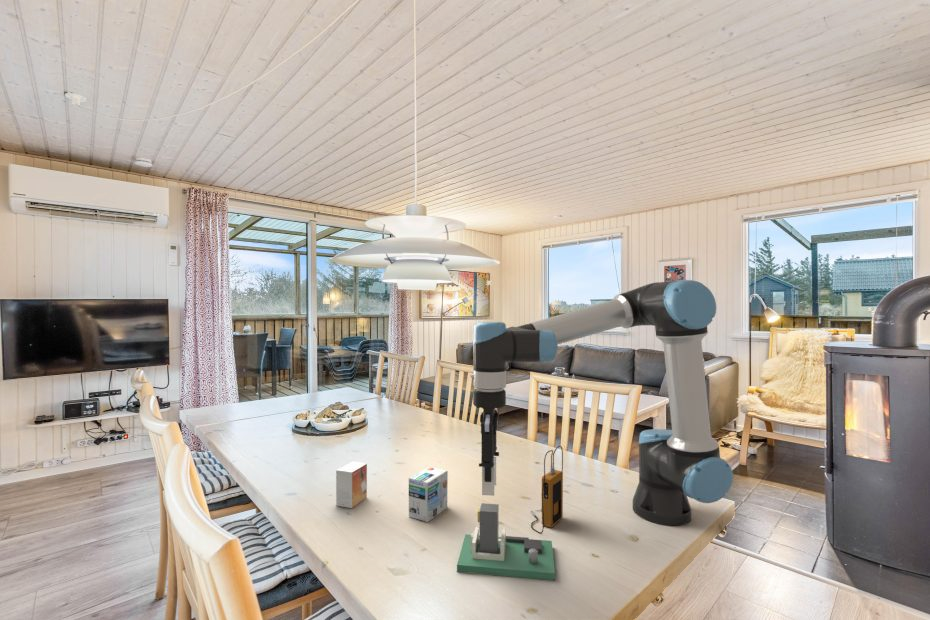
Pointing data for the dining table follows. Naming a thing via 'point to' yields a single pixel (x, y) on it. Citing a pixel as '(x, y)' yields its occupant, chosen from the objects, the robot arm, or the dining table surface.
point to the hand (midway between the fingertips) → (489, 489)
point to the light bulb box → (428, 493)
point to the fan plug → (488, 528)
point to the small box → (351, 484)
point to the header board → (508, 557)
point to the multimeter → (551, 496)
